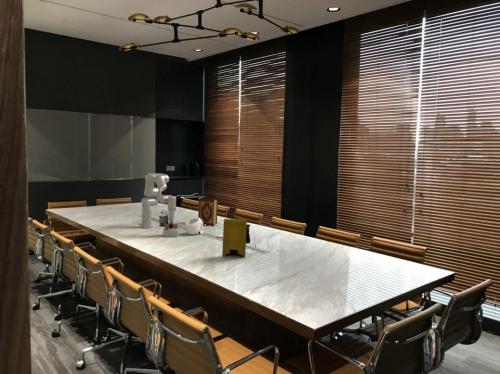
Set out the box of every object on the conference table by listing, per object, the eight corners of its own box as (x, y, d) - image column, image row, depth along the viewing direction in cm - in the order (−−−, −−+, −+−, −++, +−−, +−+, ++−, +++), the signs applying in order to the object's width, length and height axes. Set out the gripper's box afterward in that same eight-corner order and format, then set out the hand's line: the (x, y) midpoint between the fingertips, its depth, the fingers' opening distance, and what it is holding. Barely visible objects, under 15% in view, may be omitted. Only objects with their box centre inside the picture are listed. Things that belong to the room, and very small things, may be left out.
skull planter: (209, 231, 389) (203, 215, 381) (196, 243, 376) (190, 227, 368) (199, 229, 398) (194, 214, 390) (186, 240, 385) (180, 225, 376)
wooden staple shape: (164, 230, 364) (163, 224, 364) (164, 229, 369) (164, 224, 369) (176, 229, 365) (176, 224, 365) (177, 228, 370) (177, 223, 370)
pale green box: (162, 236, 364) (162, 229, 363) (164, 234, 374) (164, 227, 373) (177, 237, 365) (177, 229, 364) (178, 235, 375) (179, 227, 374)
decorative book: (196, 223, 440) (197, 197, 438) (200, 223, 447) (201, 197, 445) (213, 226, 430) (214, 199, 427) (216, 225, 437) (218, 199, 434)
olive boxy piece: (254, 253, 316) (256, 217, 314) (255, 258, 302) (257, 220, 300) (216, 252, 315) (217, 215, 313) (215, 256, 301) (216, 218, 299)
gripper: (168, 208, 375) (168, 226, 376) (166, 210, 359) (165, 229, 361) (176, 208, 375) (175, 227, 377) (174, 210, 360) (174, 230, 361)
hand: (171, 228), depth 369 cm, fingers closed on wooden staple shape, 1 cm apart
